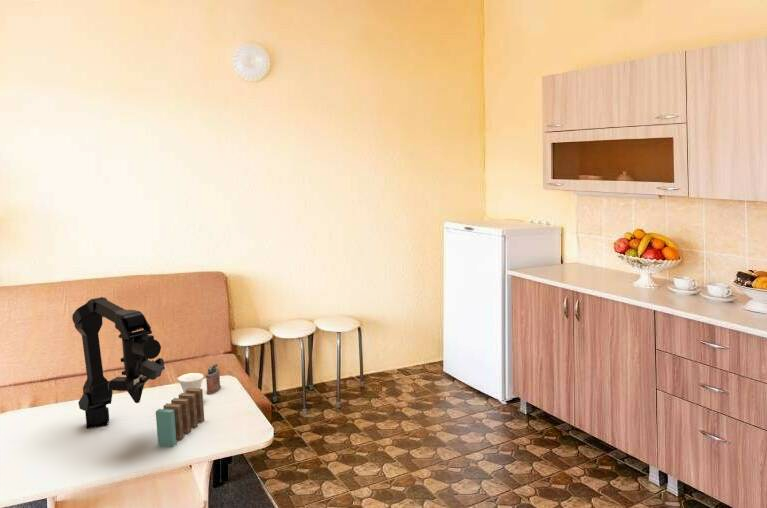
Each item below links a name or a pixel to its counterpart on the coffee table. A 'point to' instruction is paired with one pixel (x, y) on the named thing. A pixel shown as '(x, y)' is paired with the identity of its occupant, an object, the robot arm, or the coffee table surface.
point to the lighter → (213, 379)
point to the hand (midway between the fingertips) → (137, 402)
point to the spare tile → (166, 427)
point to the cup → (190, 381)
